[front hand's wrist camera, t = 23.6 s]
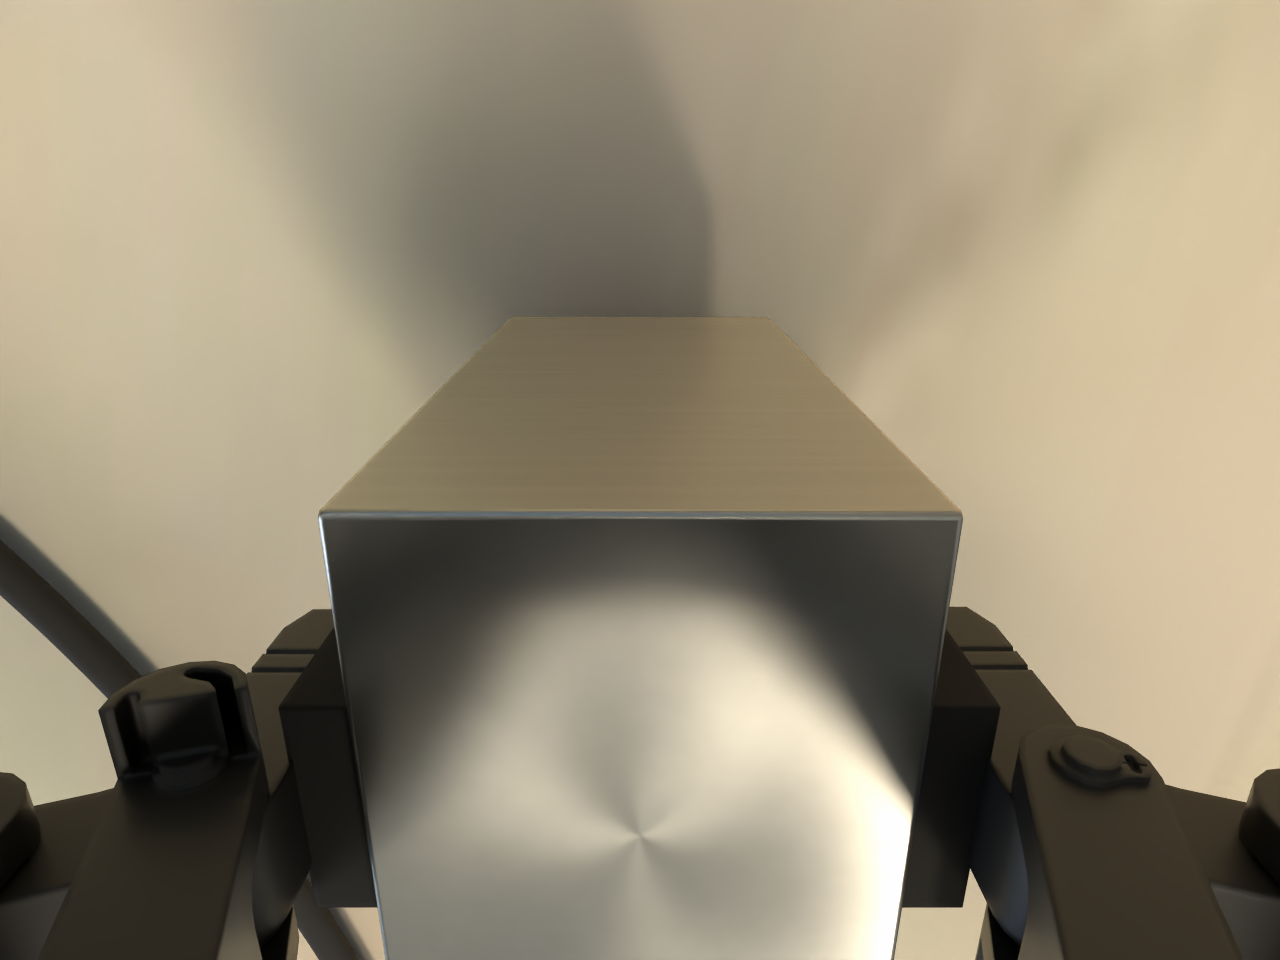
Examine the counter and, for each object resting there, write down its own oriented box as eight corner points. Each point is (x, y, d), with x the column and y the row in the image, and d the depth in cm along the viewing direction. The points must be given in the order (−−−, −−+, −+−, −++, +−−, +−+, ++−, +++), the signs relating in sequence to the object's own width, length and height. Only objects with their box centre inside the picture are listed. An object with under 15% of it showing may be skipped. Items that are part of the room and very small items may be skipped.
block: (769, 316, 18) (967, 512, 7) (752, 607, 20) (879, 1072, 10) (509, 316, 18) (312, 511, 7) (525, 607, 20) (400, 1072, 10)
